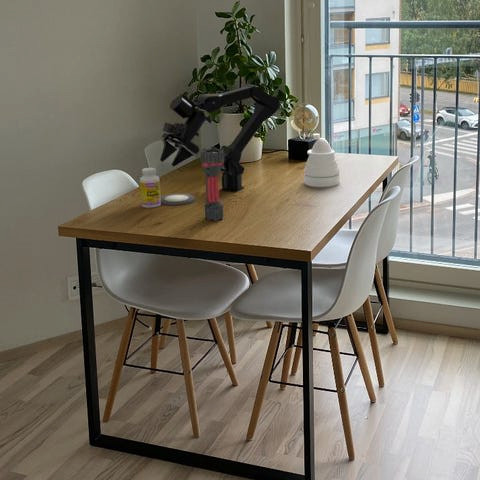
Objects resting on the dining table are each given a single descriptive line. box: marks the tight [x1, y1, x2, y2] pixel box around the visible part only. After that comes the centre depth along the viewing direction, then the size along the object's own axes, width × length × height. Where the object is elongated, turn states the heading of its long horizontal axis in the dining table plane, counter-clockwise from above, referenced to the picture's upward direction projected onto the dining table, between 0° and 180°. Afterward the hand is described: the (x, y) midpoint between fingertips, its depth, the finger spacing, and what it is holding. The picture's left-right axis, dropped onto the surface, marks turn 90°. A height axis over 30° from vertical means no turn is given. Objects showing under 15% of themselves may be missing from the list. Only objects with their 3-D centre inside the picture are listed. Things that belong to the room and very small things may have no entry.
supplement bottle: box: [139, 167, 162, 209], centre depth 302 cm, size 7×7×13 cm
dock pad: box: [160, 193, 196, 207], centre depth 309 cm, size 13×13×1 cm
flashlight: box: [200, 146, 224, 222], centre depth 281 cm, size 8×8×23 cm
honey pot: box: [303, 133, 340, 188], centre depth 324 cm, size 13×13×18 cm
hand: (166, 163), depth 305 cm, fingers open, 9 cm apart
